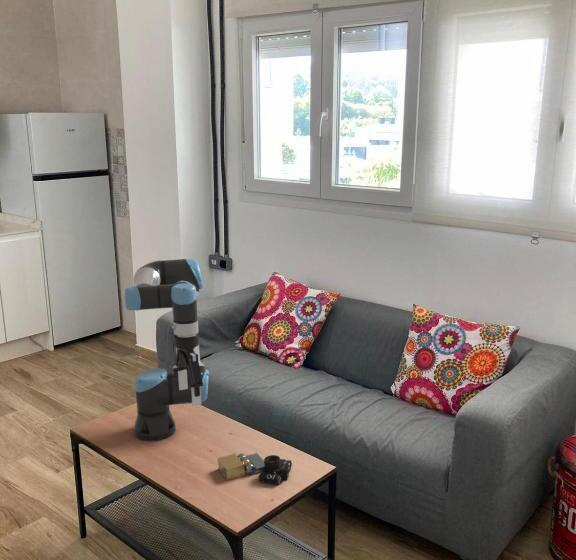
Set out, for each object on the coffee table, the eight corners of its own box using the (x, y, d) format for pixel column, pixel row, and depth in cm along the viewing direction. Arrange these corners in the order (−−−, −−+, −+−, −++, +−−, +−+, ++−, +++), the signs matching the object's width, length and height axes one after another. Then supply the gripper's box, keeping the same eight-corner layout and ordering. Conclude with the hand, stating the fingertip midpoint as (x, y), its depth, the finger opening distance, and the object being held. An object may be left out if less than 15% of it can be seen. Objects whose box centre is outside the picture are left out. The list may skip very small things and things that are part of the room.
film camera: (272, 446, 216) (295, 446, 210) (278, 466, 217) (301, 468, 211) (248, 465, 205) (272, 467, 199) (254, 487, 207) (278, 489, 200)
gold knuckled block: (245, 461, 217) (245, 450, 216) (255, 472, 210) (254, 461, 209) (218, 468, 213) (217, 458, 212) (227, 480, 206) (226, 469, 205)
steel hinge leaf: (257, 457, 219) (256, 449, 219) (268, 469, 211) (268, 461, 211) (236, 462, 216) (236, 454, 216) (247, 475, 208) (247, 467, 208)
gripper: (163, 324, 208) (167, 385, 214) (187, 348, 187) (191, 414, 192) (185, 321, 212) (189, 380, 217) (211, 343, 190) (214, 409, 195)
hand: (190, 397), depth 204 cm, fingers open, 13 cm apart
